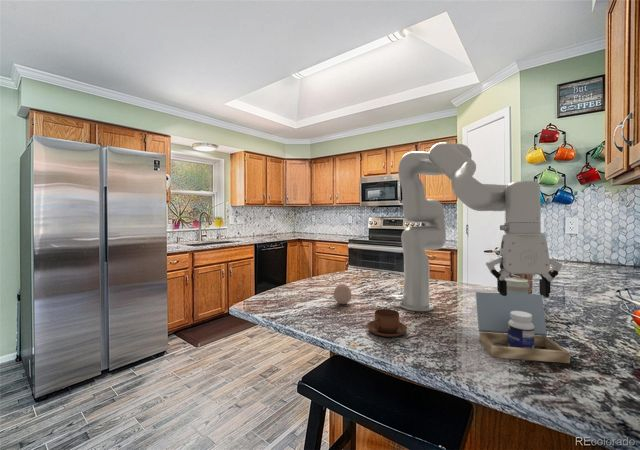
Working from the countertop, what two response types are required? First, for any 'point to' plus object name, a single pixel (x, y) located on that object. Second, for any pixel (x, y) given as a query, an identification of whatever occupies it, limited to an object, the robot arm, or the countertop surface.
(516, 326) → the pill bottle
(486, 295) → the cover
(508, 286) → the coffee cup
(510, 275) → the candy box
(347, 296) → the egg
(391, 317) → the cup and saucer
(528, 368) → the countertop surface
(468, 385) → the countertop surface
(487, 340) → the hinged lid wooden box
